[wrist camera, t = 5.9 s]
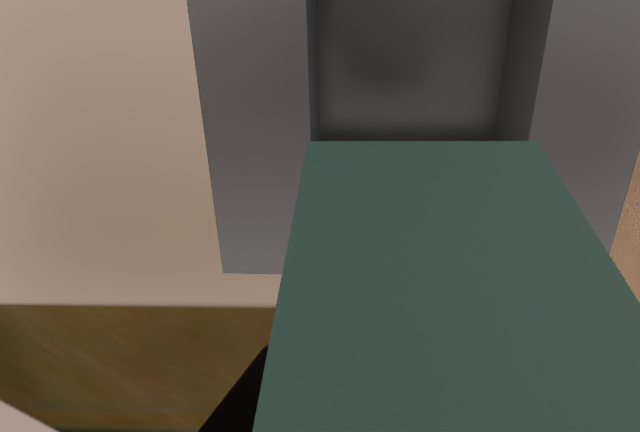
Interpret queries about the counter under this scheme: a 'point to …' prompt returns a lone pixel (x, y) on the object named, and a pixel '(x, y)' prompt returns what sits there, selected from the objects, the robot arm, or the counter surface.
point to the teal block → (446, 298)
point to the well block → (409, 95)
